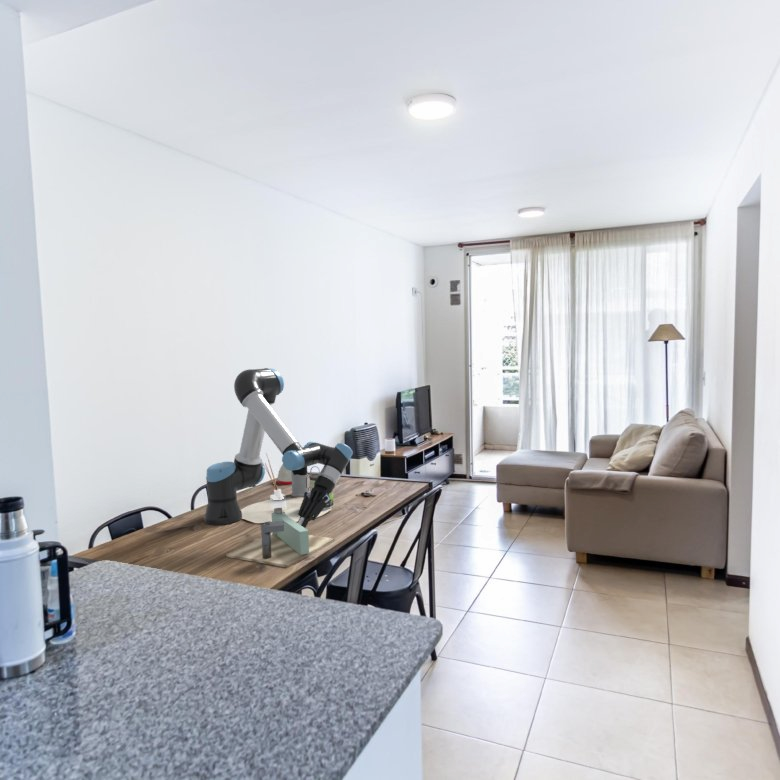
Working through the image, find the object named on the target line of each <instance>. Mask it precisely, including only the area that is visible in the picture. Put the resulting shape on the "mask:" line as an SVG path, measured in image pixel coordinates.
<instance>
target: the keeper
mask: <svg viewBox="0 0 780 780" xmlns="http://www.w3.org/2000/svg"><path fill="white" fill-rule="evenodd" d="M284 527H285V525H284V521H277V522H272V521H266V522H263V523H261V524H260V531H261V532H260V535H261V538H262V558H263V559H269V558H271V557H272V554H271V533H272V532H281V531H284Z"/></svg>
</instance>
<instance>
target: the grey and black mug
mask: <svg viewBox="0 0 780 780" xmlns="http://www.w3.org/2000/svg"><path fill="white" fill-rule="evenodd" d="M313 468H317V469H318V474H319V473H320V472H321V470H320V468H319V467H318V466H317V465H316V466H315V465H312V467H311V468H310V473H309V474H308V466H307V467H304V468H301V469H299V470H293V471H291V475H292V484H291V491H292V492H291V496H292V497H295V498H296V497H297V498H298V497H304V493H305V492H307V493H309V492H310V486H309V476H310V475H312V469H313Z"/></svg>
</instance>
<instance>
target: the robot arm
mask: <svg viewBox="0 0 780 780" xmlns="http://www.w3.org/2000/svg"><path fill="white" fill-rule="evenodd" d="M284 386H285V381H284V378H283V376H282V374H281V373H280V372H279V370H277V369H275V368H268V367H264V368H256V369H254V368H253V369H244V370H242V371H241V372H240V373H238V375H237V376H236V378H235V380H234V384H233V388H234V393H235V396H236V398H237V400H238V402H239V403H240V404H241V405H242V407H243V408H247V409H248V410H247V414H246V420H245V424H244V429H243V433H242V434H243V435H242V438H241V443H240V449H239V452H238V453H237V454H235V455H234V460H233V461H222V462H218V463H215V464H212V465H210V466H208V468H207V469H206V476H205V479H206V490H207V491H206V492H207V493H206V494H207V505H206V510H205V514H204V517H203V519H204V521H203V522H204V523H205V524H206V525H210V526H211V525H213V526H221V525H229V524H233V523H237V522H239V521H240V520H242V519H243V513H242V510H241V509H240V505H239V502H238V498H237V497H238V496H237V495H238V494H237V492H239V491H241V490H243V489H248V488H252V487H255V486H256V485H258V484H260V483H261V482H262V481H263V480H264V478H265V477H264V476H265V474H266V471H265V467H264V463H263V459H262V458H261V456H260V455H261V451H262V445H263V442H264V441H263V440H264V436H265V434H267V436H268V437H269V439H270V440H271V441H272V443H273V444H274V445H275V446H276V448H277V449H278V450H279V452H280V453H281V454H282V457H281V462H282V465H284V467H285V468H286V469H287V470H290V471H293V470H299V469H301V468H304V467H307V468H308V467H311V466H315V465H317V464H320V465H323V467H322V469H321V470H320V473H319V472H318V474H319V476H318V477H317V479H316V481H315V482H314V488H313V489H312V490H311V492H310V491H309V493H307V492H305V493H304V496H303V499H302V501H301V504H300V506H299V508H298V512H297V515H298V516H299V519H298V520H297V521H296V522H297V523H298V524H300V525H301V526H303V527H304V528H305V529H306V528H307V526H308V524H309V522H310V521H313V522H314V521H315V520H316V519H317V517H318V516H319V515H320V514H321V512H322V511H323V509H324V507H325V506H326V505H327V504H328V503H329V502H330V501H331V500H330V499H329V497H328V496H329V494H330V493H331V492H332V491H333V492H334V489H335V486H336V484H337V483H338V481H339V479H341V476H342V474H343V472H344V471H345V469H346V467H347V465H348V464H349V463H350V460H351V459H352V456H353V454H354V452H353V450H352V448H351V447H350V446H349V445H347V444H345V443H341V442H339V443H337V444H335V446H329V445H325V444H321V443H319V442H318V441H317V442H315V441H308V442H306V444H305V445H303V446H302V445H301V444H300V442H299V441H298V440H297V439H296V438H295V436H294V435H293V433H292V432H291V431H290V430H289V428H288V427H287V426H286V424H285V423H284V422H283V421H282V419H281V418H280V417H279V415H278V414H277V412H276V411H275V410H274V408H273V406H272V405H274V404H275V403H276V398H277V396H279V395H280V394H281V393H283V390H284Z"/></svg>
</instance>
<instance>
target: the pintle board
mask: <svg viewBox="0 0 780 780" xmlns="http://www.w3.org/2000/svg"><path fill="white" fill-rule="evenodd" d="M273 512H274V513H275V514H279V513H282V512H283V508H282V507H275V508H273ZM308 536H309V553H308V554H304V555H300V554H299V553H298V552H296V551H295V550H294V549H293V548H291V547H290V546H289V545H288V544H286V543H285V542H284V541H283V540H281V539H280V538H279V537H278V536H273V535H272V532H271V554H272V557H271V558H269V559H263V558H262V537H260V538H258V539H256V540H253V541H251V542H249V543H247V544H245V545H244V546H241V547H238V548H237V549H234V550H232V551H230V552H228V553H225V557H226V558H232V559H236V560H243V561H248V562H253V563H259V564H266V565H271V566H276V567H283V568H290V567H291V566H293V565H296V564H297V563H299V562H301V561H302V560H304V559H305V558H308V557H309V556H311V555H312V554H314V553H316V552H317V551H319V550H321V549H323V548H325V547H326V546H328V545H329V544H332V543H333V542H335V540H336V539H335V538H334V537H333V538H332V537H326V536H319V535H311V534H308Z"/></svg>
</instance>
